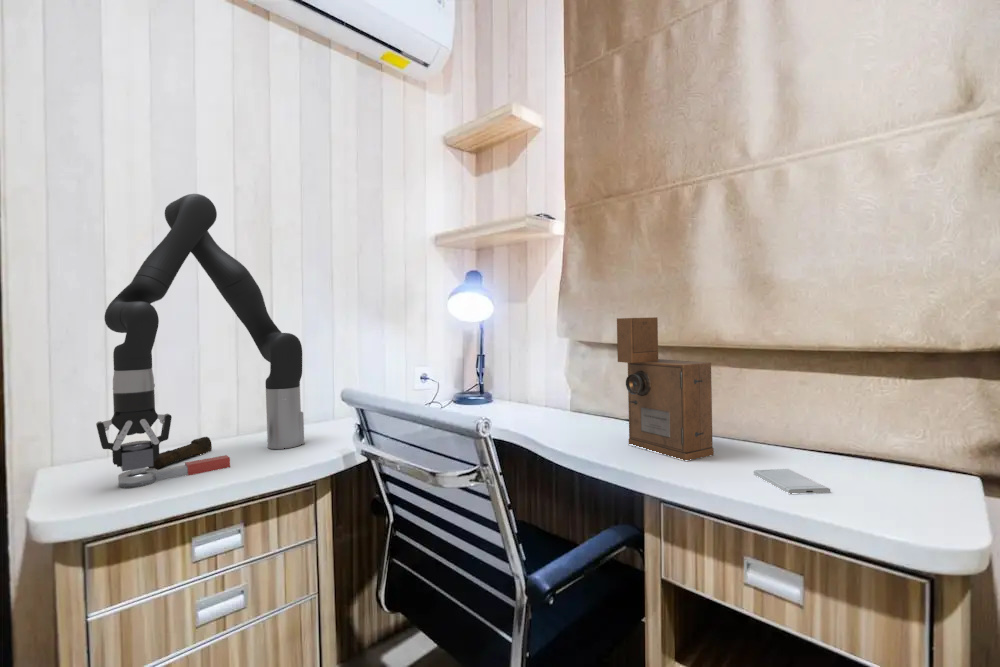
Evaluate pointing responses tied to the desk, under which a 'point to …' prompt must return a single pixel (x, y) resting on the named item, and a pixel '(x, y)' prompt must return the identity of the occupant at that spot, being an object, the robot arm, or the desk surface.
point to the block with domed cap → (136, 455)
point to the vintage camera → (664, 394)
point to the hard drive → (791, 481)
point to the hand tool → (183, 452)
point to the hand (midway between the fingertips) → (136, 462)
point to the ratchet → (170, 472)
